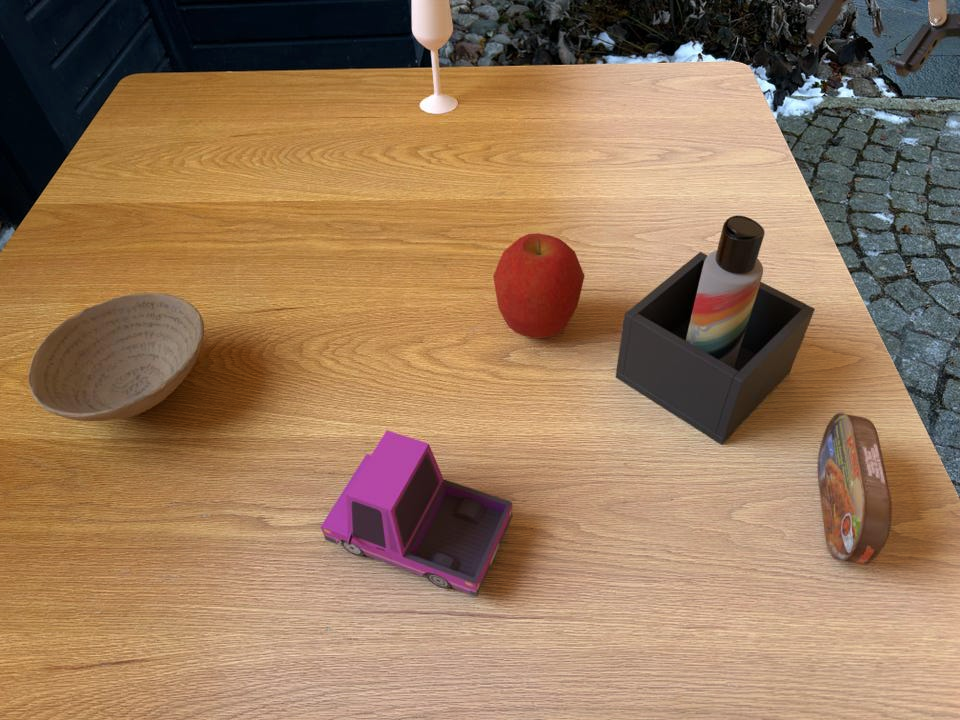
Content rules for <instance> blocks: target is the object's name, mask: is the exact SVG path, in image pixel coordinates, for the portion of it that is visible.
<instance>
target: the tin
mask: <svg viewBox="0 0 960 720" xmlns="http://www.w3.org/2000/svg"><path fill="white" fill-rule="evenodd" d="M827 423H828V424H826V427H825V430H824V432H823V436H822V439H821V442H820V445H819V450H818V456H817V481H818V488H819V496H820V503H821V504H820V505H821V512H822V521H823V528H824V536H825V543H826V546H827V549H828V552H829V554H830V556H831V557H832V558H833V559H834V560H835V561H837V562H846V563H853V564H858V565H869V564H871V563H872V562H873V561H874V560H875V559H876V558H877V557H878V555H879V554H880V552H881V551H882V550H883V548H884V547H885V545H886V544H887V541H888V538H889V534H890V531H891V525H892V517H893V516H892V513H893V512H892V511H893V507H892V498H891V493H890V492H891V491H890V487H889V482H888V477H887V471H886V467H885V463H884V457H883V453H882V448H881V445H880V443H881V442H880V438H879V434H878V431H877V427H876V426H875V424H874V423H873V422H872V421H871V420H870V419H868V418H865V417H862V416H857V415H853V414H852V415H851V414H846V412H838V413H835V414H834V415H833V416H832V417H831V419H830V420H829V421H828V422H827Z"/></svg>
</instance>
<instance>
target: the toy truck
mask: <svg viewBox="0 0 960 720" xmlns="http://www.w3.org/2000/svg"><path fill="white" fill-rule="evenodd" d="M512 518H513V501H510V500H508V499H504V498H501V497H498V496H495V495H493V494H489V493H486V492H483V491H480V490H477V489H475V488H472V487H468V486H467V485H462V484H459V483H456V482H453V481H450V480H447V479H444V476H443V474H442V472H441V468H440V466H439V465H438V462H437V459H436V458H435V455H434V453H433V450H432V448H431V446H430V443H428V442H425V441H421V440H419V439H415V438H412V437H410V436H406V435H403V434H400V433H397V432H394V431H391V430H386V431H385V433H383V435H382V436H381V438H380V440H379V442H378V443H377V445H376V447H375V449H374V450H373V451H372V453H371V454H369V453H366V454H365V455H364V456H363V458H362V460H361V462H360V463H359V465H358V466H357V468H356V470H355V471H354V473H353V474H352V476H351V478H350V479H349V480H348V483H347V484H346V486H345V488H344V489H343V490H342V492H341V494H340V495H339V497H338V498H337V500H336V502H335V503H334V504H333V506H332V508H331V509H330V510H329V513H328V514H327V516H326V518H325V519H324V520H323V522H322V524H321V525H320V529H321V531H322V534H323V537H324V540H325V541H327V542H329V543H333V544H335V545H339V543H340V545H341V546H342V548H343V549H344V550H345V551H347V552H348V553H350V554H352V555H354V556H358V557H362V556H366V557H369V558H372V559H375V560H378V561H380V562H383V563H385V564H388V565H391V566H394V567H396V568H399V569H401V570H404V571H406V572H409V573H411V574H415V575H416V576H420V577H423V576H424V574H425V577H426V579H427V580H428V581H429V582H430V583H432V584H433V585H435V586H436V587H439V588H442V589H450V588H453V589H455V590H458V591H460V592H462V593H465V594H468V595H470V596H473V597H476V598H478V595H479V594H480V591H481V588H482V586H483V584H484V581H485V579H486V577H487V576H488V573H489V571H490V568H491V566H492V563H493V562H494V559H495V556H496V554H497V553H498V550H499V547H500V545H501V544H502V541H503V538H504V536H505V534H506V533H507V532H506V531H507V529H508V527H509V525H510V522H511V520H512Z"/></svg>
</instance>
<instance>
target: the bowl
mask: <svg viewBox="0 0 960 720" xmlns="http://www.w3.org/2000/svg"><path fill="white" fill-rule="evenodd" d="M204 338H205V323H204V319H203V316H202V315H201V313H200V311H199V310H198V309H197V307H196V306H195V305H193V304H192V303H190V302H189V301H187V300H185V299H184V298H182V297H179V296H177V295H173V294H170V293H161V292H160V293H159V292H140V293H133V294H126V295H121V296H118V297H114V298H111V299H107V300H105V301H103V302H100V303H97V304H94V305H92V306H89V307H87V308H85V309H82V310H80V311H79V312H77V313H75V314H74V315H72V316H69V317H68V318H67V319H65V320H64V321H62V322H61V323H60V324H59V325H58V326H57V327H55V328H54V329H53V330H52V331H51V332H50V333H49V334H47V335H46V336H45V337H44V339H43V340H42V341H41V342H40V344H39V346H38V347H37V348H36V350H35V352H34V353H33V356H32V358H31V361H30V365H29V369H28V375H27V378H28V387H29V391H30V393H31V395H32V397H33V398H34V400H35V401H36V402H37V403H38V405H39V406H41V407H42V408H43V410H45V411H47V412H49V413H51V414H53V415H56V416H59V417H60V418H64V419H69V420H74V421H81V422H104V421H106V422H107V421H112V420H119V419H120V420H121V419H122V420H123V419H128V418H131V417H134V416H137V415H140V414H143V413H144V412H146V411H149V410H151V409H152V408H154V407H155V406H157V405H159V404H161V403H162V402H163V401H164V400H166V398H168V397H169V396H170V395H172V393H173V392H174V391H175V390H176V389H177V388H178V387H179V386H180V385H181V383H182V382H183V381H184V380H185V379H186V377H187V376H188V375H189V374H190V371H192V369H193V368H194V366H195V364H196V362H197V360H198V358H199V355H200V352H201V350H202V347H203V342H204Z"/></svg>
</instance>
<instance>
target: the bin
mask: <svg viewBox="0 0 960 720" xmlns="http://www.w3.org/2000/svg"><path fill="white" fill-rule="evenodd" d="M708 255H709V254H708ZM708 255H707V254H706V253H705V252H701V251H699V252H698V253H697V254H696V255H695V256H693V257H692V258H691V259H690V260H688V261H687V262H686V263H684V265H682V266H680V268H679V269H678V270H677V269H676V271H674V273H673V274H671V275H670V276H669V277H668V278H666V279H665V280H664V281H662V282H661V283H660V284H659V285H658V286H657V287H655V288H654V289H652V291H650V292H649V293H648V294H647V295H646V296H644V297H643V298H642V299H640V300H639V301H638V302H637V303H636V304H635V305H633V306H632V307H630V309H629V310H627V311H626V312H625V313H624V315H623V321H622V327H621V328H622V329H621V334H620V335H621V336H620V342H619V347H618V354H617V355H618V356H617V363H616V370H615V378H616V379H617V380H619V381H620V382H622V383H623V384H625V385H626V386H628V387H630V388H631V389H633V390H634V391H636V392H638V393H639V394H641V395H642V396H644V397H645V398H647V399H649V400H650V401H652V402H654V403H655V404H656V405H658V406H659V407H661V408H663V409H664V410H666V411H667V412H669V413H671V414H672V415H674V416H675V417H677V418H678V419H680V420H682V421H683V422H685V423H686V424H688V425H689V426H691V427H692V428H694V429H695V430H698V431H699V432H701V433H702V434H703V435H705V436H707V437H708V438H710V439H712V440H713V441H715V442H716V443H718V444H720V445H723V444H725V442H726V441H727V440H728V439H729V438H730V437H731V436H732V434H734V432H736V431H737V430H738V429H739V428H740V426H741V425H742V424H743V423H744V422H745V421H747V419H748V418H749V417H750V416H751V415H752V414H753V413H754V412H755V410H757V408H758V407H759V406H760V405H761V404H762V403H763V402H764V401H765V400H766V399H767V398H768V397H769V396H770V395H771V394H772V392H773V391H774V390H775V389H776V388H777V387H778V386H779V385H781V383H782V382H783V381H784V380H785V379H786V378H787V377H788V376H789V375H790V373H791V371H792V368H793V366H794V363H795V361H796V358H797V356H798V353H799V351H800V349H801V346H802V343H803V341H804V338H805V336H806V333H807V330H808V328H809V326H810V323H811V320H812V318H813V315H814V313H815V310H816V308H814V307H813V306H811V305H809V304H807V303H805V302H803V301H801V300H799V299H797V298H795V297H793V296H790V295H788V294H786V293H784V292H782V291H781V290H779V289H776V288H774V287H773V286H771V285H768V284H767V283H764V282H762V281H761V282H760V286H759V289H758V292H757V295H756V298H755V302H754V305H753V308H752V311H751V314H750V318H749V321H748V324H747V327H746V330H745V333H744V337H743V340H742V343H741V346H740V349H739V353H738V356H737V359H736V362H735V365H734V368H732V367H730V366H729V365H727V364H725V363H723V362H722V361H720V360H718V359H716V358H715V357H713V356H711V355H709V354H708V353H706V352H704V351H702V350H701V349H699V348H697V347H695V346H694V345H692V344H690V343H688V342H687V341H686V337H687V333H688V328H689V324H690V320H691V316H692V311H693V307H694V303H695V298H696V294H697V290H698V286H699V281H700V277H701V273H702V269H703V265H704V262H705V259H706V257H707V256H708Z"/></svg>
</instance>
